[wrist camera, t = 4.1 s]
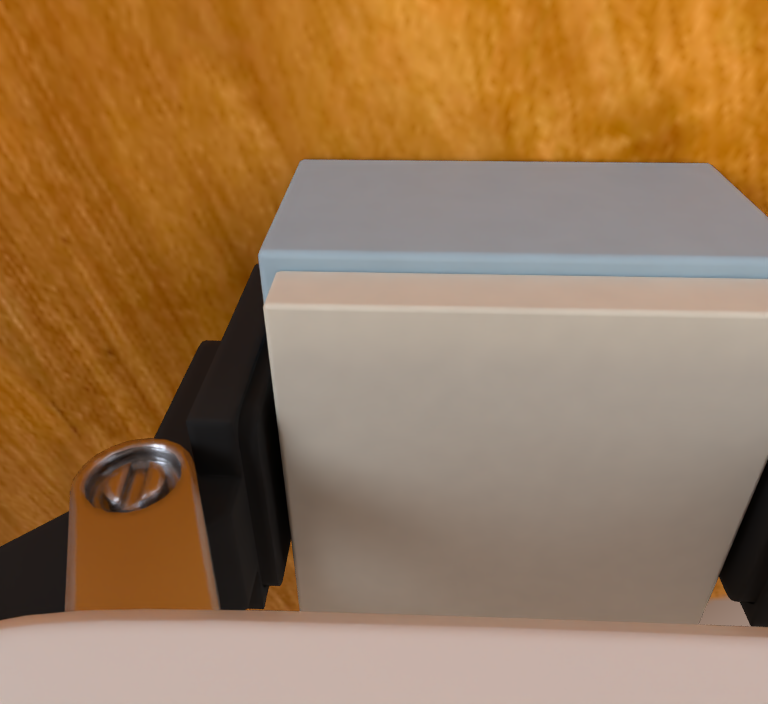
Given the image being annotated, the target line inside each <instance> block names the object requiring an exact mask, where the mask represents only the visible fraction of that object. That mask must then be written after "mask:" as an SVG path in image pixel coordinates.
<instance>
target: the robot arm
mask: <svg viewBox="0 0 768 704" xmlns="http://www.w3.org/2000/svg"><path fill="white" fill-rule="evenodd" d="M263 306H264V302H263V293H262V285H261V277H260V268H259V264H256V265H255V266H254V269H253V271H252V273H251V275H250V278H249V280H248V282H247V284H246V287H245V289H244V291H243V293H242V296H241V298H240V300H239V302H238V305H237V307H236V309H235V311H234V314H233V316H232V318H231V320H230V323H229V325H228V327H227V329H226V331H225V334H224V336H223V338H222V340H221V341H208V340H206V341H203V342H202V343H201V344H200V346H199V347H198V349H197V351H196V353H195V356H194V358H193V360H192V362H191V364H190V366H189V368H188V370H187V372H186V374H185V376H184V378H183V380H182V382H181V384H180V386H179V388H178V390H177V392H176V394H175V396H174V398H173V401H172V403H171V405H170V407H169V409H168V411H167V413H166V415H165V417H164V419H163V421H162V423H161V425H160V427H159V429H158V431H157V433H156V435H155V437H154V438H146V439H137V440H130V441H127V442H124V443H121V444H118V445H114V446H112V447H110V448H108V449H106V450H105V451H103V452H101V453H99V454H97V455H96V456H94V457H93V458H92V459H91V460H90V461H88V462H87V463H86V464H85V465H84V466H83V467H82V468H81V469H80V471H79V472H78V474H77V475H76V476H75V478H74V480H73V484H72V487H71V491H70V506H69V512H67V513H65V514H63V515H61V516H59V517H57V518H55V519H53V520H51V521H49V522H47V523H45V524H43V525H41V526H39V527H38V528H36V529H34V530H32V531H30V532H28V533H26V534H24V535H22V536H20V537H18V538H16V539H14V540H12V541H10V542H8V543H6V544H4V545H3V546H1V547H0V704H768V460H767V463H766V465H765V467H764V470H763V472H762V475H761V477H760V479H759V482H758V484H757V486H756V489H755V491H754V494H753V496H752V498H751V501H750V503H749V506H748V508H747V510H746V513H745V515H744V517H743V520H742V522H741V525H740V527H739V529H738V532H737V534H736V536H735V539H734V541H733V544H732V546H731V548H730V551H729V553H728V555H727V558H726V560H725V563H724V565H723V567H722V570H721V572H720V574H719V578H720V580H721V582H722V585H723V587H724V589H725V591H726V593H727V595H728V597H729V598H730V599H731V600H733V601H737V602H740V603H741V605H742V608H743V609H744V612H745V614H746V616H747V619H748V621H749V623H750V625H751V626H756V627H749V626H721V625H695V624H668V623H641V622H613V621H584V620H556V619H527V618H498V617H467V616H434V615H401V614H368V613H335V612H302V611H259V610H246V609H247V608H249V609H264V607H265V602H266V597H267V593H268V588H269V586H280V585H281V584H282V581H283V577H284V572H285V567H286V562H287V557H288V552H289V547H290V542H291V533H290V525H289V517H288V508H287V500H286V492H285V484H284V475H283V467H282V459H281V451H280V442H279V434H278V426H277V418H276V410H275V401H274V393H273V385H272V377H271V368H270V360H269V352H268V344H267V335H266V327H265V319H264V311H263Z"/></svg>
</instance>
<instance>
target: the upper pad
mask: <svg viewBox="0 0 768 704" xmlns="http://www.w3.org/2000/svg"><path fill="white" fill-rule="evenodd" d="M258 260H259V268H260V277H261V285H262V293H263V302H264V306H263V311H264V319H265V327H266V335H267V344H268V352H269V360H270V368H271V377H272V385H273V393H274V401H275V410H276V418H277V426H278V434H279V442H280V451H281V459H282V467H283V475H284V484H285V492H286V500H287V508H288V517H289V525H290V533H291V541H292V549H293V558H294V566H295V574H296V582H297V591H298V599H299V607H300V611H302V612H335V613H368V614H401V615H434V616H467V617H498V618H527V619H556V620H584V621H613V622H641V623H668V624H695V625H698V624H699V622H700V620H701V617H702V615H703V613H704V610H705V608H706V605H707V603H708V601H709V598H710V596H711V594H712V591H713V589H714V586H715V584H716V582H717V579H718V577H719V574H720V572H721V570H722V567H723V565H724V563H725V560H726V558H727V555H728V553H729V551H730V548H731V546H732V544H733V541H734V539H735V536H736V534H737V532H738V529H739V527H740V525H741V522H742V520H743V517H744V515H745V513H746V510H747V508H748V506H749V503H750V501H751V498H752V496H753V494H754V491H755V489H756V486H757V484H758V482H759V479H760V477H761V475H762V472H763V470H764V467H765V465H766V463H767V460H768V217H767V216H766V215H765V214H764V213H763V212H762V211H761V210H760V209H759V208H757V207H756V206H755V205H754V204H753V203H752V202H751V201H750V200H749V199H748V198H747V197H746V196H745V195H743V194H742V193H741V192H740V191H739V190H738V189H737V188H736V187H735V186H734V185H733V184H732V183H731V182H729V181H728V180H727V179H726V178H725V177H724V176H723V175H722V174H721V173H720V172H719V171H718V170H717V169H715V168H714V167H713V166H712V165H710V164H708V163H622V162H515V161H408V160H302V161H300V163H299V165H298V167H297V169H296V172H295V174H294V176H293V178H292V180H291V183H290V185H289V187H288V189H287V192H286V194H285V196H284V198H283V200H282V203H281V205H280V207H279V209H278V211H277V214H276V216H275V218H274V220H273V222H272V225H271V227H270V229H269V231H268V233H267V236H266V238H265V240H264V242H263V244H262V247H261V249H260V251H259V254H258Z"/></svg>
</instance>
